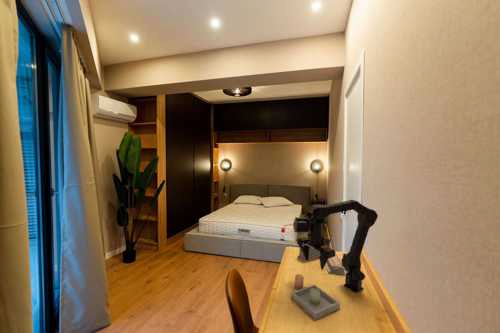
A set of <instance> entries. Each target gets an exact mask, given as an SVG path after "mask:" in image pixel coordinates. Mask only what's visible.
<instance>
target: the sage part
mask: <svg viewBox="0 0 500 333" xmlns="http://www.w3.org/2000/svg"><path fill="white" fill-rule="evenodd" d="M310 303H311V304H313V305H319V304H320V290H319V289H317V288H311V289H310Z"/></svg>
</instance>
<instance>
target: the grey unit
mask: <svg viewBox="0 0 500 333" xmlns="http://www.w3.org/2000/svg"><path fill="white" fill-rule="evenodd" d="M298 254H299V255H297V257H296V259H297V260H299V261H301V262H303V263H308V262H311V261H312V262H313V261H315V260H320V258H319V256H321V255H320V251H318V250H316V249H314V248H312V247H310V248H309V258H308V261H306V259H305V257H304V254H303V252H302V250H301V248H300V247H299V253H298Z"/></svg>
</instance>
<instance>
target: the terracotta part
mask: <svg viewBox="0 0 500 333" xmlns="http://www.w3.org/2000/svg"><path fill="white" fill-rule="evenodd" d="M304 279H305V278H304V275H302V274H298V273H297V274H295V275H294V288H295V289H296V290H300V289H303V288H304V283H305V282H304V281H305V280H304Z"/></svg>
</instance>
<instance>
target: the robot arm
mask: <svg viewBox="0 0 500 333" xmlns="http://www.w3.org/2000/svg"><path fill="white" fill-rule="evenodd" d="M352 210H353V211H354V212H355V213H357V216H356V219H357V226H356V230H355V233H354V236H353V239H352V242H351V246H350V249H349V251H348V252H347V253H343V254H342V258H341V259H340V260H341V262H342V266H343V267H344V268H345V271H346V272H347V273H346V275H345V278H344V279H345V280H344V284H343V286H344V287H345V288H347V289H349V290H350V291H352V292H353V293H358V292H360V291H362V290H365V289H364V287H362V285H363V281H364V280H365V277H366V274H365V273H364V272H363V271H362V270H361V267H362V260H361V254H362V252H363V248H364V245H365V243H366V239H367V237H368V233H369V231H370V228H371V227H373V226H374V225H375V223H376V221H377V220H378V217H379V215H378V213H377V211H376V210H374V209H372V208H369V207H366V206H365V205H363V204H362V203H360V202H359V201H357V200H354V199H349V200H345V201H340V202H337V203H331V204H312V205H310V207H309V208H308V211H307V212H306V213H305V215H304V216H303V217H294V220H293V223H292V228H293V231H294V233H307V237H305V236H303V237H298V239H297V240H296V244H297V245H298V247H299V249H300V248H301V250H302V252H303V254H304V257H305V259H306V261H308V258H309V248H310V247H312V248H314V249H316V250H318V251H320V255H321V256H319V266H320V269H321V270H324V268H325V267H326V265H325V264H326V262H327V260H328V259H329V258H332V257H335V254H336V251H335V250H334V249H333V248H331V247H330V243H331V239H329V238H327V237H325V234H323V225H326V224H328V221H326V218H327V217H329V216H330V215H333V214H338V213H342V212H344V213H345V212H347V211H352ZM325 246H327V247H325ZM336 255H337V254H336ZM308 262H309V261H308Z"/></svg>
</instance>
